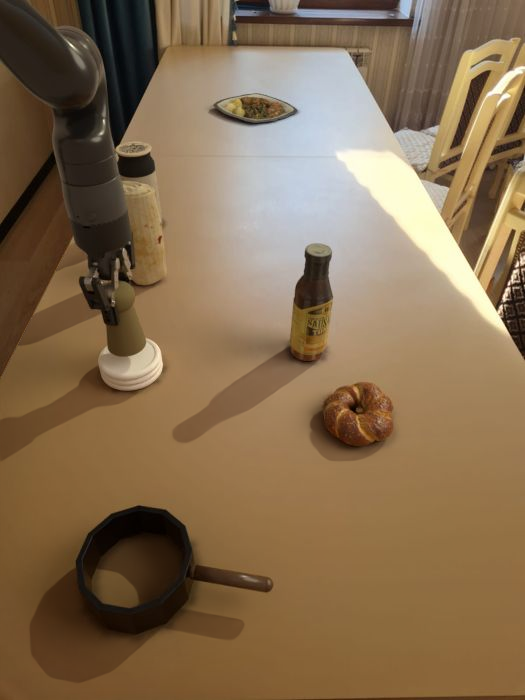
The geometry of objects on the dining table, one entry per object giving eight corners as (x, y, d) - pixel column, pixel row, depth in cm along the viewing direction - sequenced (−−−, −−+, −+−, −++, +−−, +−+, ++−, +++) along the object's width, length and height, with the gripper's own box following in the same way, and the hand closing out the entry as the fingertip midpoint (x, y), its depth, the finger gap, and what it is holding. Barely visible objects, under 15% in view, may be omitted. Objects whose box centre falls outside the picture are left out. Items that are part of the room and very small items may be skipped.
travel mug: (160, 233, 122) (149, 155, 110) (124, 233, 122) (110, 155, 110) (164, 216, 128) (154, 140, 116) (131, 216, 128) (117, 140, 116)
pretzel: (333, 382, 87) (335, 366, 85) (400, 401, 84) (405, 384, 82) (311, 436, 79) (312, 420, 76) (385, 459, 76) (389, 442, 73)
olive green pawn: (154, 339, 86) (144, 282, 79) (128, 361, 82) (116, 303, 75) (125, 327, 88) (113, 270, 81) (99, 348, 84) (84, 290, 77)
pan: (68, 621, 59) (56, 601, 56) (110, 521, 68) (103, 499, 65) (263, 658, 57) (263, 640, 53) (280, 549, 66) (281, 527, 62)
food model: (171, 270, 111) (159, 177, 98) (164, 289, 106) (150, 193, 93) (125, 268, 112) (107, 175, 99) (115, 286, 107) (95, 191, 94)
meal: (252, 130, 172) (252, 122, 170) (204, 109, 186) (203, 101, 184) (307, 112, 185) (308, 104, 183) (258, 93, 198) (258, 86, 196)
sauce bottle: (306, 368, 90) (315, 267, 76) (281, 349, 93) (285, 249, 80) (334, 352, 93) (347, 251, 80) (309, 333, 96) (317, 235, 83)
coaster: (175, 365, 90) (173, 349, 88) (133, 401, 84) (129, 385, 82) (132, 342, 94) (128, 327, 92) (88, 375, 88) (84, 360, 86)
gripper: (92, 182, 75) (113, 282, 87) (44, 232, 65) (75, 340, 76) (143, 186, 74) (158, 287, 86) (103, 238, 64) (126, 346, 75)
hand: (119, 311), depth 81 cm, fingers closed on olive green pawn, 5 cm apart
